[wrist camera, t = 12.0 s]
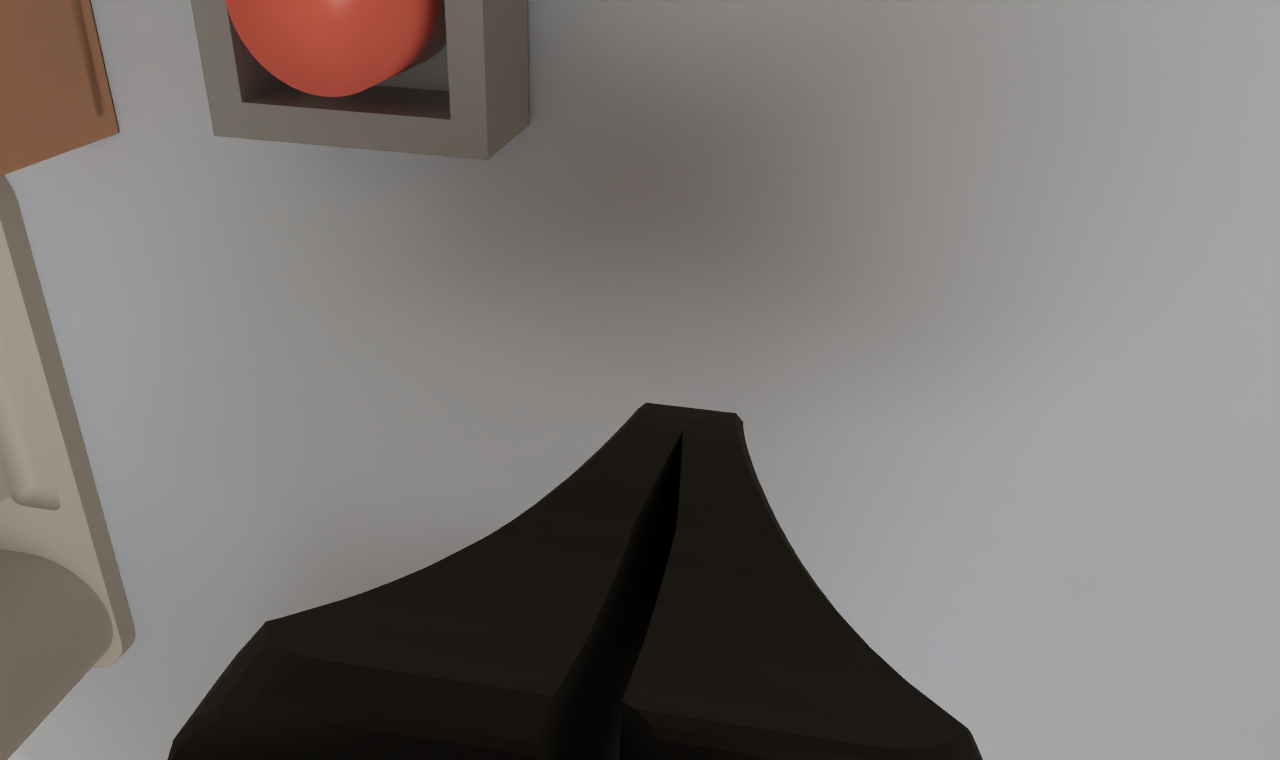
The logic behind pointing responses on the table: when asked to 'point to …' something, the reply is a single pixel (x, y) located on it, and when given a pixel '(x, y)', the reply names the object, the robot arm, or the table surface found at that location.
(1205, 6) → the table surface
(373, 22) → the button
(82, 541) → the phone holder
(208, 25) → the button base
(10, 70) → the pen cup
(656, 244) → the table surface
